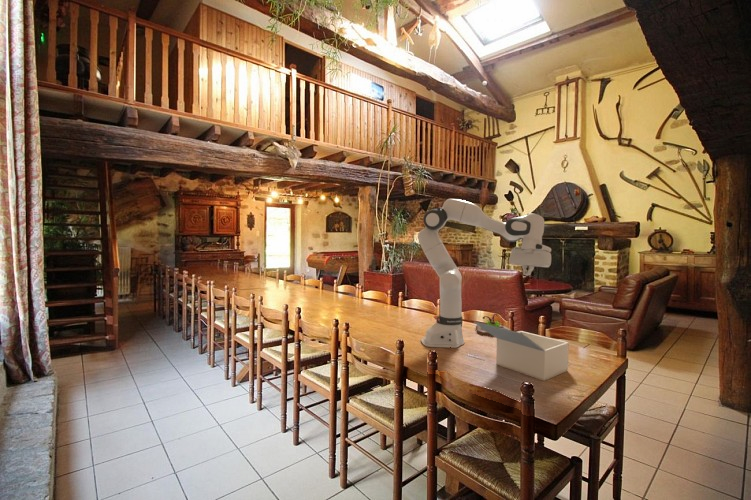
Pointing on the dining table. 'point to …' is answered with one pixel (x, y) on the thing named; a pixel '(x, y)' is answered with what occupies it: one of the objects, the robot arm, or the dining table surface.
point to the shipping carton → (534, 357)
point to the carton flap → (509, 336)
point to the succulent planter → (492, 323)
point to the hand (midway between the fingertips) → (526, 275)
